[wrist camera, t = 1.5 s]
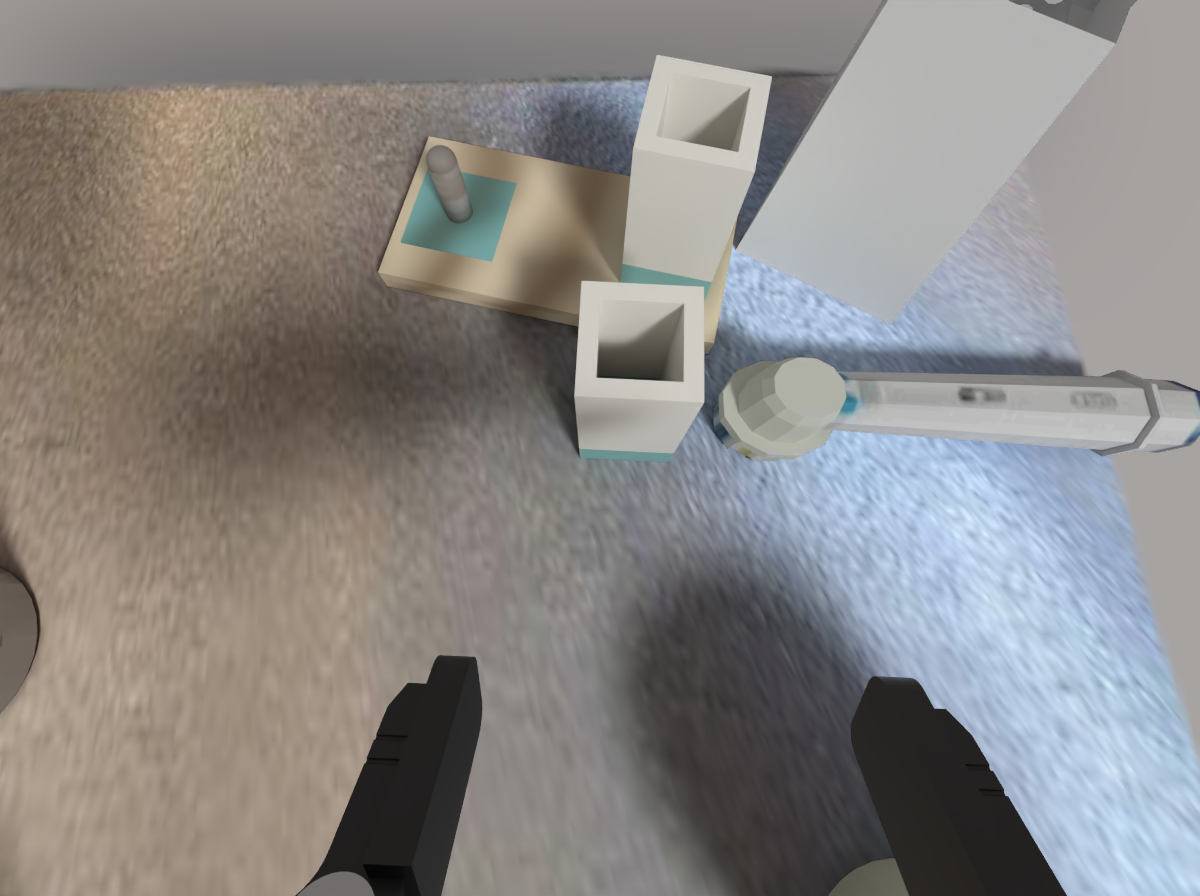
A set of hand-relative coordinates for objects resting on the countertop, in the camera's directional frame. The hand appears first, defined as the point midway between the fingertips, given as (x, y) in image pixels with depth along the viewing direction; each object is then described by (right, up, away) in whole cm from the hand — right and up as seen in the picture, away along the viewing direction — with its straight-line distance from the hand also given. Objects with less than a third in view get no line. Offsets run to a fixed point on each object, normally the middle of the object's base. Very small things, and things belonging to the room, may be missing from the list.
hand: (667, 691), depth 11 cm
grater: (+14, +19, +24) cm, 34 cm away
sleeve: (0, +7, +20) cm, 21 cm away
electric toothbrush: (+18, +6, +20) cm, 28 cm away
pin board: (-4, +17, +23) cm, 29 cm away
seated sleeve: (+3, +16, +21) cm, 27 cm away
